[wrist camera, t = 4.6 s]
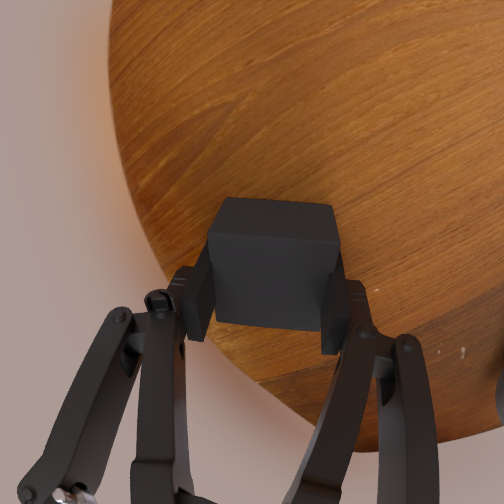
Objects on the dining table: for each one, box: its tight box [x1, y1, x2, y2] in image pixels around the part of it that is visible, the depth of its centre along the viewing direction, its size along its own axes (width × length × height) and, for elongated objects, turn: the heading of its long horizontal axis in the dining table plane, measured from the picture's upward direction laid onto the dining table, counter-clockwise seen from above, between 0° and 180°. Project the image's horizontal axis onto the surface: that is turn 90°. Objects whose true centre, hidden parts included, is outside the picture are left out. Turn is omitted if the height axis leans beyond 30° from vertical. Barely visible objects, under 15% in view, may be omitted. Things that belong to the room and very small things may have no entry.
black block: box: [207, 198, 341, 332], centre depth 16 cm, size 6×6×4 cm
